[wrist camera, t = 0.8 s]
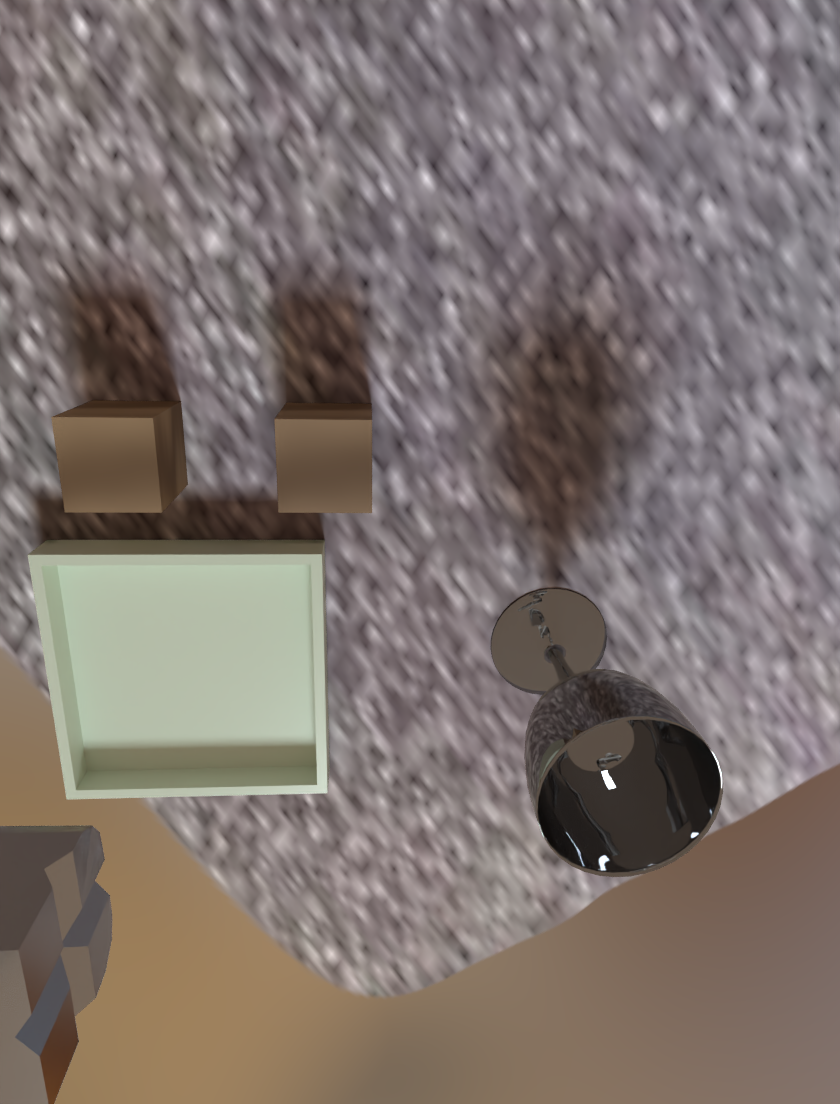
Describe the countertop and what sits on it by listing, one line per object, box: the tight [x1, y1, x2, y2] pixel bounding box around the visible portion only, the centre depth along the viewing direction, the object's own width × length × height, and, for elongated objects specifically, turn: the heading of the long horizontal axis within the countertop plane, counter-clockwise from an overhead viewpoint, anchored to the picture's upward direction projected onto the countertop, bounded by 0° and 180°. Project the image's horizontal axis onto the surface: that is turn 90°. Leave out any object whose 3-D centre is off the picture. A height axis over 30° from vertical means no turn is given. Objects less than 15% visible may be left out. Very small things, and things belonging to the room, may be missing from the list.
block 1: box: [52, 400, 188, 513], centre depth 38 cm, size 4×4×6 cm
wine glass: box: [491, 588, 723, 877], centre depth 39 cm, size 8×8×15 cm
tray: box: [28, 540, 329, 799], centre depth 43 cm, size 15×15×2 cm
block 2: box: [275, 403, 372, 513], centre depth 38 cm, size 4×4×6 cm
